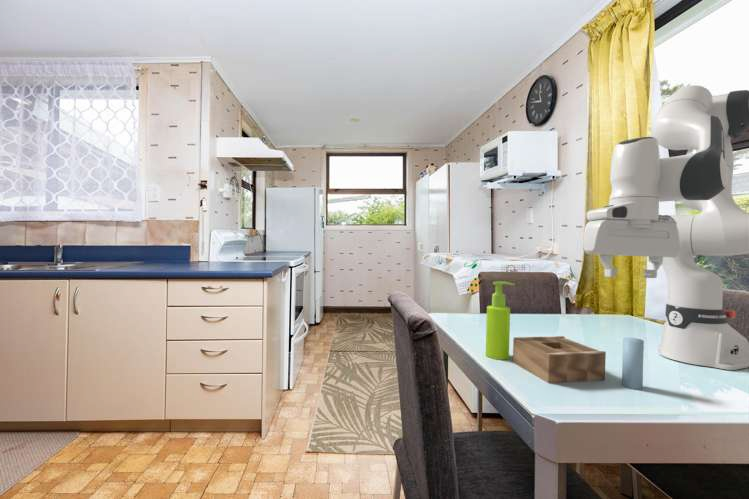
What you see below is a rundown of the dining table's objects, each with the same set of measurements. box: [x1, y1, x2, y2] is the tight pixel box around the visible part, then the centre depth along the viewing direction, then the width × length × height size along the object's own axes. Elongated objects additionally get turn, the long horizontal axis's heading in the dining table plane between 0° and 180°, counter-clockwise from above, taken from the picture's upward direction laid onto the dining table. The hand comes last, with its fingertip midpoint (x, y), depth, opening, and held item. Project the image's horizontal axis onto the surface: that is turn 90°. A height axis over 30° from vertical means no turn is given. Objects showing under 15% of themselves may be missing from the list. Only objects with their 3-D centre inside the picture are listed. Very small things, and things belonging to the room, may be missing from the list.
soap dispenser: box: [485, 280, 516, 361], centre depth 97 cm, size 6×7×20 cm
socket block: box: [512, 335, 607, 384], centre depth 87 cm, size 14×14×6 cm
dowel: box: [621, 337, 645, 391], centre depth 78 cm, size 4×4×10 cm
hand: (630, 277), depth 79 cm, fingers open, 8 cm apart
